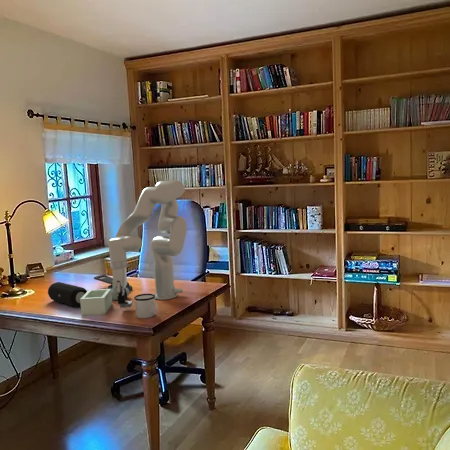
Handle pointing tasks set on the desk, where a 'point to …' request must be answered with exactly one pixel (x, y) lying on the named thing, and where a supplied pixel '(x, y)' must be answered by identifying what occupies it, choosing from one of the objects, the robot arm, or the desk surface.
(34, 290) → the desk surface
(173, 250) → the robot arm
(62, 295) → the portable speaker
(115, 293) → the air freshener
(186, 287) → the desk surface
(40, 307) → the desk surface
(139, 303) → the mug
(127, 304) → the steel bracket
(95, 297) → the well box
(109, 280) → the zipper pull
